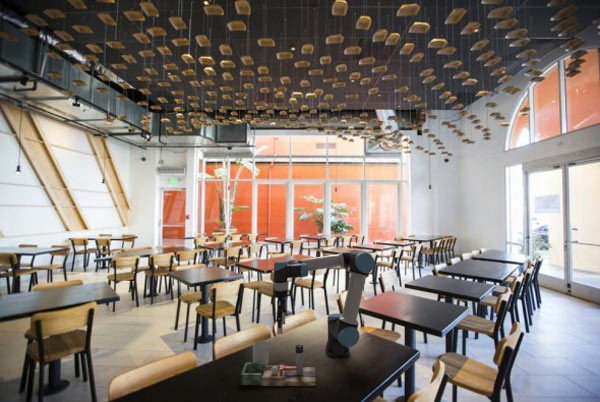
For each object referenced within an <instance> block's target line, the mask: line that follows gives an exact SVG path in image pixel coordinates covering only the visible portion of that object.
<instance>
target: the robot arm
mask: <svg viewBox="0 0 600 402" xmlns="http://www.w3.org/2000/svg"><path fill="white" fill-rule="evenodd" d="M375 266H376V265H375V258H374V256H372V254H370V253H369V252H367V251H365V250H364V251H362V250H357V249H351V250H347V251H341V252H338V253H337V254H331V255H324V256H317V257H309V258H303V259H296V260H294V259H290V260H288V261H287V260H276V261H275V262H273V282H272V285H273V296H274V298H276V299H277V300H276V303H277V305H276V307H277V308H276V319H275V322H277V323H276V324H277V325H276V327H277V329H276V333H277V334H278V335H283V334H284V333H283V332H284V331H283V329H284V328H283V327H284V325H286V313H287V309H286V299H285V298H288V295H289V294H288V293H289V292H288V288H289V287H288V284H289V281H288V279H293V278H294V279H295V278H306V277H308V276H309V274H310V272H312V271H316V270H325V269H331V268H332V269H333V268H337V267H338V268H339V267H340V268H343V269H344V268H349V270H348V271H349V274H350V278H349V282H348V287H347V292H346V297H345V300H344V306H343V310H342V313H331V314H328V315H327V319H326V321H327V341H326V345H325V349H324V350H325V351H324V352H325V355H326V356H328V357H331V358H335V359H342V358H343V359H344V358H348V357H349V356H350V355H351V353H350V352H351V350H350V348H352V347H354V346H355V345H356V344H357V343H358V342H359V341H360V332H359V330H358V328H359V324H360V323H359V321H358V317H359V316H358V315H359V310H360V306H361V302H362V297H363V292H364V286H365V281H366V279H367V278H368V277H369V276H370V273H371V272H372V271H373V270H374V268H375Z"/></svg>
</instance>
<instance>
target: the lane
mask: <svg viewBox="0 0 600 402" xmlns="http://www.w3.org/2000/svg"><path fill="white" fill-rule="evenodd" d="M273 366H277V367H278V369H279V371H278V373H277V374H276V375H274V374H272V373H271V368H272V367H273ZM283 366H288V365H284V364H283ZM316 382H317V381H316V370H315V367H310V366H308V367H307V366H306V367H304V366H303V375H296V371H283V376H280V364H279V365H276V364H274V365H271V364H270V365H269V364H267V365H265V362H253V361H252V362H245V363H244V366H243V368H242V370H241V372H240V386H261V387H262V386H263V387H265V386H266V387H267V386H268V387H277V386H280V387H284V386H285V387H286V386H287V387H289V386H290V387H291V386H293V387H294V386H295V387H297V386H298V387H299V386H300V387H301V386H303V387H307V386H308V387H311V386H312V387H315V386H316V384H317V383H316Z"/></svg>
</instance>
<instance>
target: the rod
mask: <svg viewBox="0 0 600 402" xmlns="http://www.w3.org/2000/svg"><path fill="white" fill-rule="evenodd" d="M279 365H280V376H283V371H296V375H303V367H304V346H303V344H297V345H295V366H291V365H290V366H289V365H287V366H283V365H284V364H279Z"/></svg>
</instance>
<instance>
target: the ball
mask: <svg viewBox="0 0 600 402" xmlns="http://www.w3.org/2000/svg"><path fill="white" fill-rule="evenodd" d="M278 371H279V369H278V367H277V366H273V367H272V368H271V373H272V374H274V375H276V374H277V373H278Z"/></svg>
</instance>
